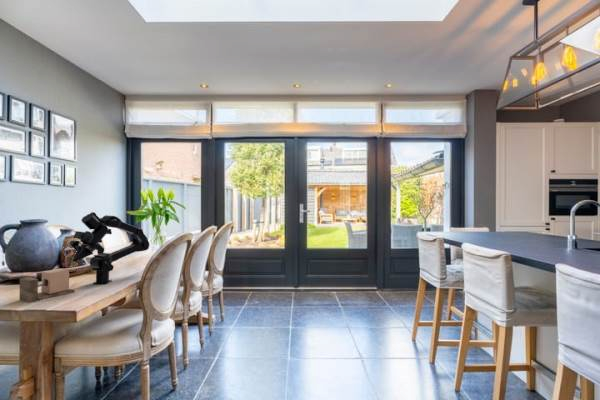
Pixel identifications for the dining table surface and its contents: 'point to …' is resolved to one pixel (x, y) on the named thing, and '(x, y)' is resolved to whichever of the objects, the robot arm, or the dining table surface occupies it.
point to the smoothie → (69, 257)
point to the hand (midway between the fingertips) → (74, 261)
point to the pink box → (55, 280)
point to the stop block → (35, 291)
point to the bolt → (43, 283)
